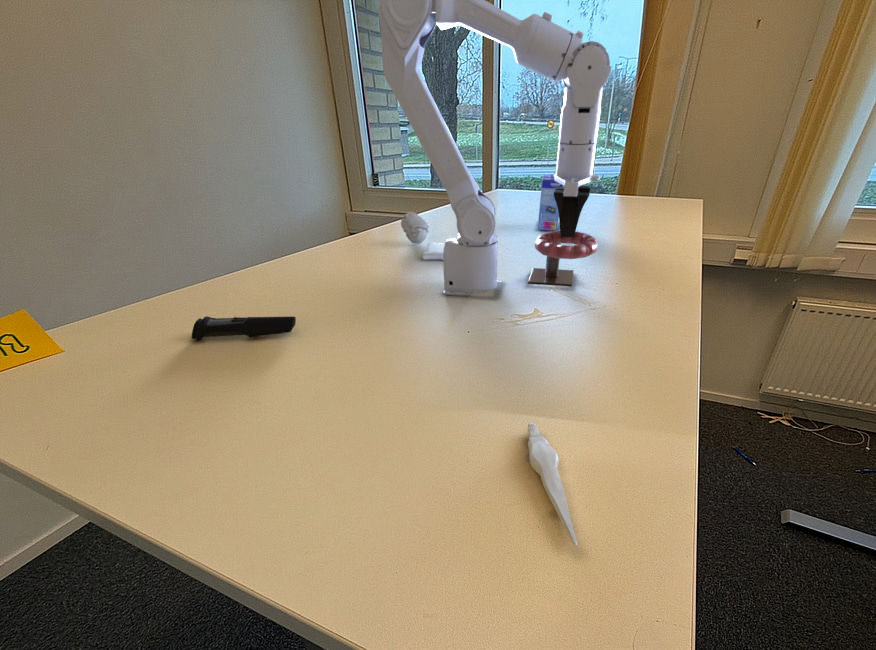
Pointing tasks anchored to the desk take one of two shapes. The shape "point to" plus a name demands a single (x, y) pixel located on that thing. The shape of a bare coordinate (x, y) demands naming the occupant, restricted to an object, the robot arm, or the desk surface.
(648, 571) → the desk surface
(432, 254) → the hard drive
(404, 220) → the white lumpy rounded piece
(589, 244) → the ring
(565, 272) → the stand
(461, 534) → the desk surface
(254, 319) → the electric trimmer
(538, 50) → the robot arm
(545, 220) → the ink cartridge box
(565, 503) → the grey tapered spike
